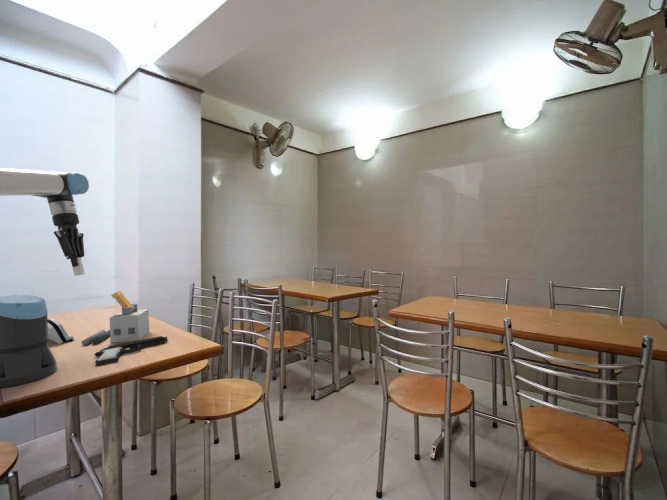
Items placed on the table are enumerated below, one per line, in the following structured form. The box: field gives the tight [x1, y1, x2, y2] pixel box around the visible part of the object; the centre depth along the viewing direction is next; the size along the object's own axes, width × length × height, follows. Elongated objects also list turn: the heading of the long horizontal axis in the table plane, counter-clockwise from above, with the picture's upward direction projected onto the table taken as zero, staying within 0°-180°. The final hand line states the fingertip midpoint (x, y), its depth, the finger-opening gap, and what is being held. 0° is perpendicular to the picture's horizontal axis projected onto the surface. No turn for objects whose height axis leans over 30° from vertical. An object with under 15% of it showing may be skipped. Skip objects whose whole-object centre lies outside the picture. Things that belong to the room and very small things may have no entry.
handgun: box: [94, 335, 169, 366], centre depth 111 cm, size 3×23×15 cm
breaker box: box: [109, 303, 150, 344], centre depth 128 cm, size 10×12×13 cm
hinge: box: [47, 317, 76, 345], centre depth 126 cm, size 17×5×10 cm, turn 56°
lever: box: [110, 290, 136, 312], centre depth 128 cm, size 2×5×10 cm
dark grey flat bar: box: [81, 329, 110, 346], centre depth 126 cm, size 5×14×2 cm, turn 14°
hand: (79, 274), depth 118 cm, fingers closed
